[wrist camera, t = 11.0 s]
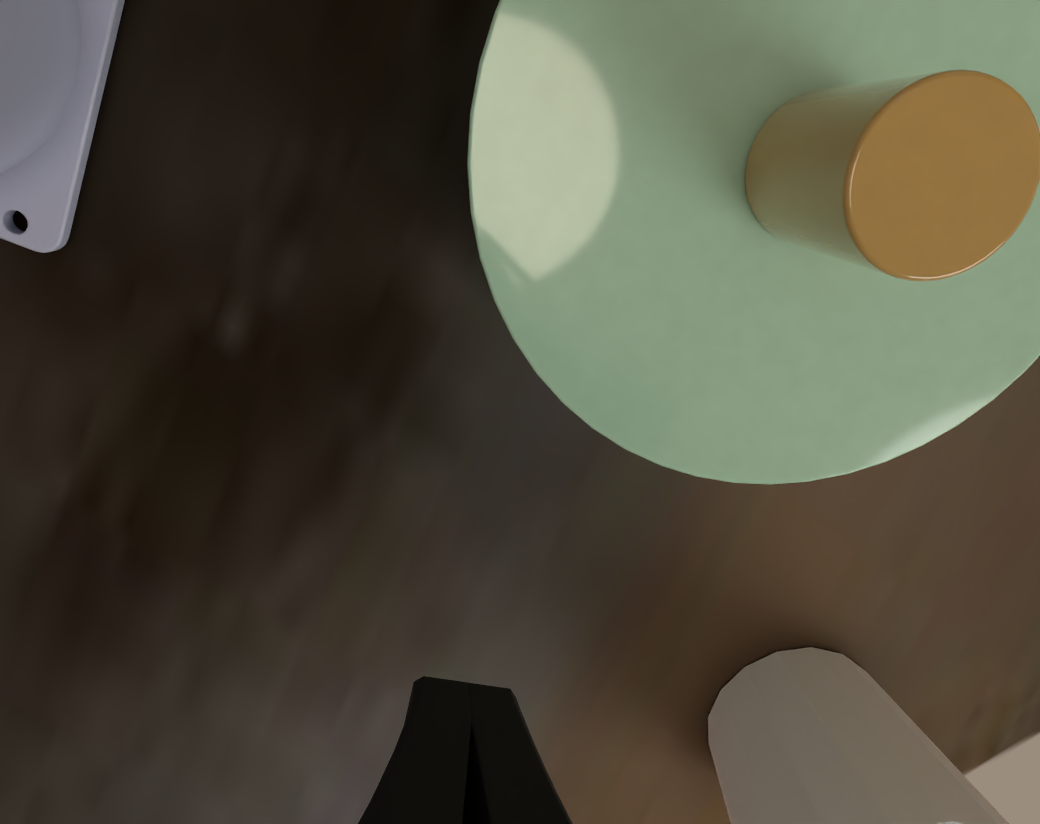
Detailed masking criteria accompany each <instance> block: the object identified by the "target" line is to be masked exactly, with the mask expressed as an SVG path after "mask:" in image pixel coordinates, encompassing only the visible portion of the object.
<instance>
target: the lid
mask: <svg viewBox="0 0 1040 824" xmlns="http://www.w3.org/2000/svg"><path fill="white" fill-rule="evenodd" d="M467 170H468V184H469V199H470V213H471V218H472V223H473V228H474V233H475V238H476V243H477V248H478V253H479V258H480V261H481V264H482V267H483V270H484V273H485V276H486V279H487V282H488V285H489V288H490V291H491V294H492V297H493V300H494V302H495V304H496V306H497V308H498V310H499V312H500V314H501V316H502V318H503V320H504V322H505V324H506V326H507V328H508V330H509V332H510V334H511V336H512V338H513V340H514V342H515V343H516V345H517V346H518V347H519V349H520V350H521V352H522V353H523V355H524V356H525V358H526V359H527V361H528V362H529V364H530V365H531V367H532V368H533V370H534V371H535V373H536V374H537V375H538V376H539V377H540V378H541V380H542V381H543V382H544V383H545V384H546V385H547V386H548V387H549V389H550V390H551V391H552V392H553V393H554V394H555V395H556V396H557V398H558V399H559V400H560V401H561V402H562V403H563V404H564V405H565V406H566V407H568V408H569V409H570V410H571V411H572V412H573V413H575V414H576V415H577V416H578V417H579V418H580V419H582V420H583V421H584V422H585V423H586V424H588V425H589V426H590V427H591V428H592V429H594V430H595V431H597V432H599V433H600V434H602V435H603V436H605V437H606V438H608V439H609V440H611V441H613V442H614V443H616V444H617V445H619V446H620V447H622V448H624V449H625V450H628V451H630V452H632V453H634V454H636V455H638V456H640V457H643V458H645V459H647V460H649V461H651V462H653V463H656V464H658V465H661V466H664V467H667V468H670V469H673V470H677V471H680V472H683V473H686V474H689V475H693V476H697V477H703V478H709V479H714V480H720V481H726V482H732V483H752V484H782V483H795V482H809V481H814V480H819V479H824V478H829V477H834V476H840V475H845V474H849V473H852V472H855V471H858V470H861V469H865V468H868V467H871V466H874V465H877V464H880V463H884V462H886V461H889V460H891V459H893V458H895V457H898V456H900V455H902V454H904V453H907V452H909V451H911V450H914V449H916V448H918V447H920V446H923V445H924V444H926V443H928V442H930V441H931V440H933V439H935V438H936V437H938V436H940V435H942V434H943V433H945V432H947V431H949V430H950V429H952V428H954V427H956V426H957V425H959V424H960V423H962V422H963V421H965V420H966V419H967V418H969V417H970V416H971V415H973V414H974V413H976V412H977V411H978V410H980V409H981V408H983V407H984V406H985V405H987V404H988V403H990V402H991V401H992V400H994V399H995V398H996V397H997V396H998V395H999V394H1000V393H1001V392H1003V391H1004V390H1005V389H1006V388H1007V387H1008V386H1009V385H1010V384H1012V383H1013V382H1014V381H1015V380H1016V379H1017V378H1018V377H1019V376H1021V375H1022V374H1023V373H1024V372H1025V371H1026V370H1027V369H1028V368H1029V367H1030V366H1031V365H1032V364H1033V362H1034V361H1035V360H1036V359H1037V358H1038V357H1039V356H1040V0H500V1H499V3H498V5H497V8H496V10H495V13H494V16H493V19H492V22H491V26H490V29H489V32H488V35H487V39H486V42H485V45H484V48H483V51H482V55H481V58H480V61H479V66H478V72H477V77H476V83H475V88H474V94H473V99H472V105H471V110H470V120H469V138H468V156H467Z"/></svg>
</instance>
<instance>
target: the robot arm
mask: <svg viewBox="0 0 1040 824" xmlns="http://www.w3.org/2000/svg"><path fill="white" fill-rule="evenodd" d="M124 2H125V0H0V238H2V239H4V240H7V241H10V242H12V243H15V244H17V245H20V246H23V247H25V248H28V249H31V250H33V251H37V252H42V253H46V252H51V251H55V250H59V249H60V248H62V247H63V246H65V245H66V243H67V241H68V239H69V235H70V231H71V227H72V223H73V218H74V214H75V210H76V206H77V201H78V197H79V193H80V189H81V184H82V180H83V176H84V172H85V167H86V163H87V159H88V155H89V150H90V146H91V142H92V138H93V134H94V129H95V125H96V121H97V117H98V112H99V108H100V104H101V100H102V95H103V91H104V87H105V83H106V78H107V74H108V70H109V66H110V61H111V57H112V53H113V49H114V44H115V40H116V36H117V32H118V28H119V23H120V19H121V15H122V11H123V6H124ZM15 211H19V212H20V213H22V214H23V215H24V216H25V218H26V219H27V222H28V227H27V229H26V231H22V230H20V229H19V228H17V227H16V225H15V223H14V222H13V215H14V213H15ZM358 824H572V822H571V820H570V818H569V816H568V814H567V812H566V810H565V808H564V806H563V804H562V802H561V800H560V798H559V796H558V794H557V792H556V790H555V788H554V786H553V784H552V782H551V779H550V777H549V775H548V773H547V771H546V769H545V767H544V764H543V762H542V760H541V758H540V755H539V753H538V751H537V749H536V746H535V744H534V742H533V739H532V737H531V735H530V732H529V730H528V727H527V725H526V722H525V720H524V717H523V715H522V712H521V710H520V707H519V704H518V702H517V699H516V697H515V695H514V694H513V692H512V691H511V689H507V688H501V687H494V686H487V685H480V684H473V683H466V682H459V681H453V680H446V679H439V678H432V677H425V676H423V677H422V678H420V679H418V680H416V681H415V682H414V684H413V688H412V693H411V697H410V701H409V706H408V710H407V715H406V719H405V724H404V727H403V729H402V732H401V735H400V737H399V740H398V742H397V745H396V747H395V750H394V752H393V754H392V757H391V759H390V761H389V763H388V765H387V767H386V769H385V772H384V774H383V776H382V778H381V780H380V782H379V785H378V787H377V789H376V791H375V793H374V795H373V797H372V799H371V801H370V803H369V805H368V807H367V808H366V810H365V812H364V814H363V816H362V817H361V819H360V821H359V823H358Z"/></svg>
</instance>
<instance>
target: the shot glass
mask: <svg viewBox="0 0 1040 824" xmlns="http://www.w3.org/2000/svg"><path fill="white" fill-rule="evenodd" d="M708 743H709V747H710V751H711V754H712V758H713V761H714V765H715V769H716V772H717V776H718V779H719V783H720V786H721V790H722V794H723V797H724V801H725V804H726V808H727V811H728V815H729V819H730V822H731V824H1009V823H1008V822H1007V821H1006V820H1005V819H1004V818H1003V817H1002V816H1001V815H1000V814H999V813H998V812H997V811H996V810H995V808H994V807H993V806H992V805H991V804H990V803H989V802H988V801H987V800H986V799H985V798H984V797H983V796H982V795H981V794H980V792H979V791H978V790H977V789H976V788H975V787H974V786H973V785H972V784H971V783H970V782H969V781H968V780H967V779H966V778H965V776H964V775H963V774H962V773H961V772H960V771H959V770H958V769H957V768H956V767H955V766H954V765H953V764H952V763H951V762H950V760H949V759H948V758H947V757H946V756H945V755H944V754H943V753H942V752H941V751H940V750H939V749H938V748H937V747H936V746H935V744H934V743H933V742H932V741H931V740H930V739H929V738H928V737H927V736H926V735H925V734H924V733H923V732H922V731H921V730H920V728H919V727H918V726H917V725H916V724H915V723H914V722H913V721H912V720H911V719H910V718H909V717H908V716H907V715H906V714H905V713H904V711H903V710H902V709H901V708H900V707H899V706H898V705H897V704H896V703H895V702H894V701H893V700H892V699H891V698H890V697H889V695H888V694H887V693H886V692H885V691H884V690H883V689H882V688H881V687H880V686H879V685H878V684H877V683H876V682H875V681H874V679H873V678H872V677H871V676H870V675H869V674H868V673H867V672H866V671H865V670H864V669H862V668H861V667H860V666H858V665H857V664H856V663H854V662H853V661H851V660H850V659H849V658H847V657H846V656H845V655H843V654H841V653H836V652H831V651H827V650H822V649H818V648H813V647H809V648H801V649H793V650H786V651H778V652H775V653H773V654H771V655H769V656H767V657H765V658H762V659H760V660H758V661H756V662H754V663H752V664H750V665H748V666H746V667H744V668H743V669H742V670H741V671H740V672H739V673H738V674H737V675H736V676H735V677H734V678H733V679H732V680H731V681H729V682H728V683H727V684H726V685H725V686H724V687H723V688H722V689H721V690H720V692H719V694H718V697H717V699H716V701H715V703H714V705H713V707H712V710H711V712H710V714H709V716H708Z"/></svg>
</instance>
